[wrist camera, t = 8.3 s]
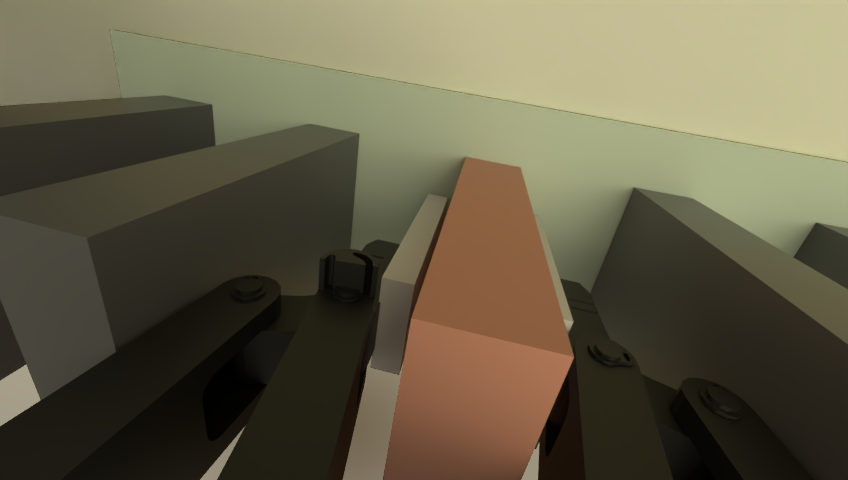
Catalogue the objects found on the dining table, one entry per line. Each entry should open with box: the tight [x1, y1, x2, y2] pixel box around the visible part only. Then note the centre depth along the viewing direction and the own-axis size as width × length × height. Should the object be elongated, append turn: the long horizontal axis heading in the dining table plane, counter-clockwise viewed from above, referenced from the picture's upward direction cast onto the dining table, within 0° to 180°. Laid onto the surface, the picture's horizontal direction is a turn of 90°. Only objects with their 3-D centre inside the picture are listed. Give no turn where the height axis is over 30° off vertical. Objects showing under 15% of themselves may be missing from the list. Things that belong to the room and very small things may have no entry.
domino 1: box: [0, 95, 216, 380], centre depth 11 cm, size 6×2×10 cm, turn 171°
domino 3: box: [590, 188, 848, 480], centre depth 10 cm, size 6×2×10 cm, turn 171°
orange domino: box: [383, 157, 574, 480], centre depth 10 cm, size 6×2×10 cm, turn 171°
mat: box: [109, 30, 848, 293], centre depth 15 cm, size 9×33×1 cm, turn 81°
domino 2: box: [0, 124, 359, 400], centre depth 11 cm, size 6×2×10 cm, turn 171°
